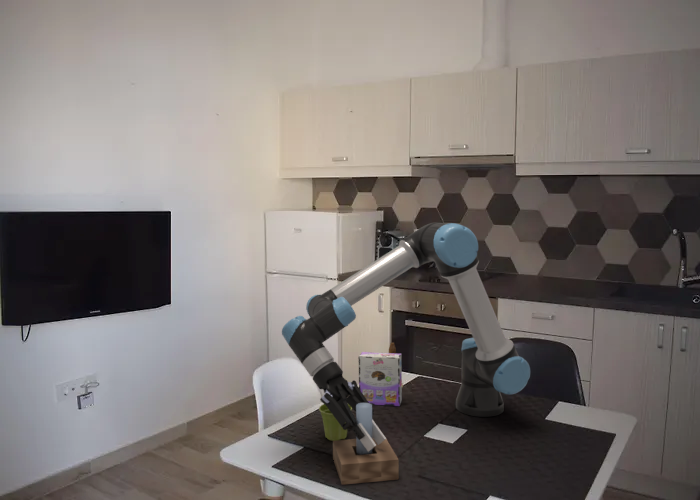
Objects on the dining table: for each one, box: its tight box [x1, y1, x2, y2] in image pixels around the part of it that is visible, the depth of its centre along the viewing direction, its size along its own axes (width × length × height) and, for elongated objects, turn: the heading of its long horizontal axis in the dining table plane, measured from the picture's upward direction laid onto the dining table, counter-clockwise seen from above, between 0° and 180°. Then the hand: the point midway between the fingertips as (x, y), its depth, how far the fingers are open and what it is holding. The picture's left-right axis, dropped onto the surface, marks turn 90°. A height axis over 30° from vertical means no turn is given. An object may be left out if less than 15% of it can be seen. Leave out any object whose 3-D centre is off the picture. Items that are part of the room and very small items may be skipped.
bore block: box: [332, 437, 400, 486], centre depth 148 cm, size 14×14×5 cm
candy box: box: [357, 351, 403, 407], centre depth 196 cm, size 14×6×16 cm, turn 77°
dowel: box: [355, 403, 373, 455], centre depth 148 cm, size 4×4×14 cm
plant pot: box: [318, 403, 353, 442], centre depth 168 cm, size 9×9×9 cm
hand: (377, 444), depth 146 cm, fingers closed on dowel, 4 cm apart
